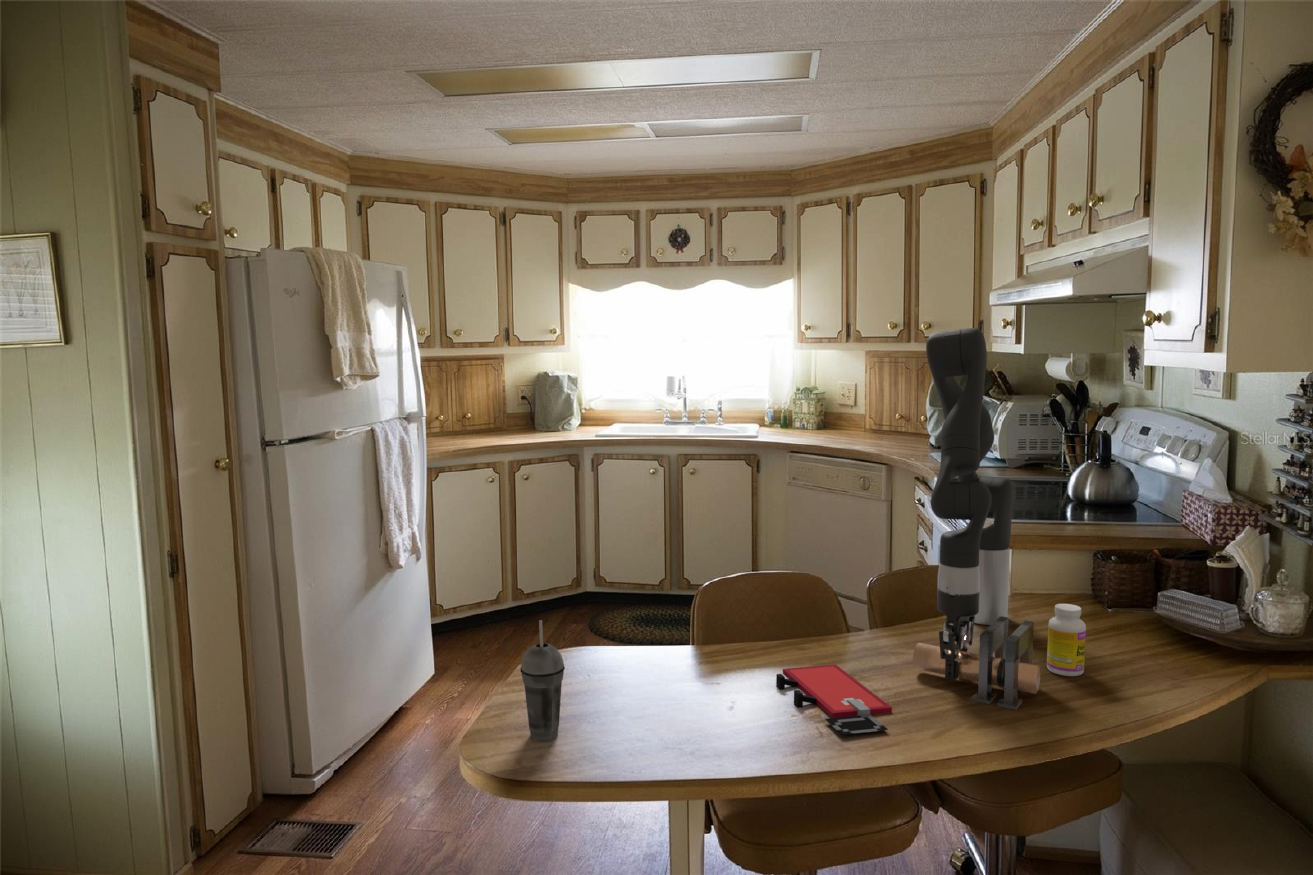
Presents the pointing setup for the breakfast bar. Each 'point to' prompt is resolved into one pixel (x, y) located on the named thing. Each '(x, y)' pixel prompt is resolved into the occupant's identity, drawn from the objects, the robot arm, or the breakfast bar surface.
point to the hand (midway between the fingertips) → (956, 674)
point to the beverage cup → (543, 688)
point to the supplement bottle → (1066, 641)
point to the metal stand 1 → (990, 657)
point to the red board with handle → (836, 697)
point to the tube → (975, 667)
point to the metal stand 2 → (1016, 662)
